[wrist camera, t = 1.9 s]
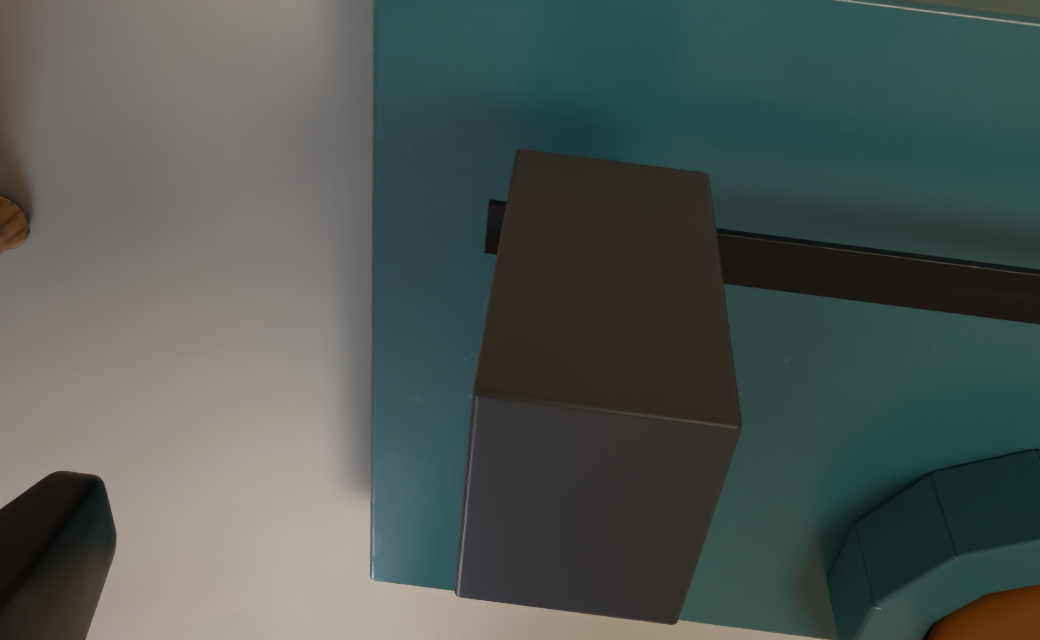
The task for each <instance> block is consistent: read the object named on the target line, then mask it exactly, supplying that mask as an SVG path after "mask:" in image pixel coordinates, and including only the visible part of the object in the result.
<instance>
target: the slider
mask: <svg viewBox="0 0 1040 640" xmlns="http://www.w3.org/2000/svg"><path fill="white" fill-rule="evenodd" d="M742 427H743V425H742V418H741V410H740V403H739V396H738V388H737V381H736V373H735V366H734V358H733V351H732V343H731V336H730V328H729V321H728V314H727V306H726V299H725V291H724V284H723V276H722V269H721V261H720V254H719V246H718V239H717V231H716V224H715V217H714V209H713V202H712V194H711V187H710V179H709V175H708V174H707V173H705V172H699V171H691V170H683V169H675V168H668V167H660V166H652V165H644V164H636V163H629V162H621V161H613V160H605V159H597V158H589V157H582V156H574V155H566V154H558V153H550V152H542V151H535V150H527V149H518V150H517V152H516V153H515V158H514V164H513V169H512V175H511V180H510V186H509V191H508V197H507V202H506V208H505V213H504V219H503V224H502V230H501V235H500V241H499V247H498V252H497V258H496V263H495V269H494V274H493V280H492V285H491V291H490V296H489V302H488V307H487V313H486V318H485V324H484V329H483V335H482V340H481V346H480V351H479V357H478V363H477V368H476V374H475V379H474V385H473V390H472V400H471V411H470V422H469V433H468V444H467V455H466V466H465V477H464V488H463V499H462V509H461V520H460V531H459V542H458V553H457V564H456V575H455V586H454V590H455V594H456V596H458V597H462V598H470V599H477V600H485V601H493V602H500V603H508V604H516V605H523V606H531V607H539V608H546V609H554V610H562V611H569V612H577V613H585V614H592V615H600V616H608V617H615V618H623V619H631V620H638V621H646V622H654V623H661V624H669V625H673V624H676V623H677V622H678V620H679V617H680V614H681V611H682V608H683V605H684V602H685V599H686V596H687V593H688V590H689V587H690V584H691V581H692V578H693V575H694V572H695V569H696V566H697V563H698V560H699V557H700V554H701V551H702V548H703V545H704V541H705V538H706V535H707V532H708V529H709V526H710V523H711V520H712V517H713V514H714V511H715V508H716V505H717V502H718V499H719V496H720V493H721V490H722V487H723V484H724V481H725V478H726V475H727V472H728V469H729V466H730V463H731V460H732V457H733V454H734V451H735V448H736V445H737V442H738V439H739V436H740V433H741V430H742Z"/></svg>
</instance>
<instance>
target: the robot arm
mask: <svg viewBox="0 0 1040 640" xmlns="http://www.w3.org/2000/svg"><path fill="white" fill-rule="evenodd" d="M115 548H116V529H115V525H114V520H113V516H112V512H111V508H110V504H109V499H108V495H107V491H106V487H105V484H104V482H103V481H102V479H101V478H100V477H99V476H96V475H92V474H85V473H77V472H69V471H57V472H54V473H52V474H49V475H48V476H46V477H45V478H43V479H42V480H40V481H39V482H38V483H36V484H35V485H33V486H32V487H31V488H29V489H28V490H27V491H25V492H24V493H22V494H21V495H20V496H18V497H17V498H16V499H14V500H13V501H11V502H10V503H9V504H7V505H6V506H4V507H3V508H2V509H0V640H85V639H86V636H87V633H88V631H89V628H90V625H91V622H92V619H93V616H94V613H95V610H96V607H97V604H98V601H99V598H100V595H101V592H102V589H103V586H104V584H105V581H106V578H107V575H108V572H109V569H110V566H111V563H112V560H113V557H114V553H115Z"/></svg>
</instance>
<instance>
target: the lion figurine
mask: <svg viewBox="0 0 1040 640" xmlns="http://www.w3.org/2000/svg"><path fill="white" fill-rule="evenodd" d="M29 233H30V230H29V226H28V221H27V218H26V216H25V214H24V213H23V211H22V210H21V209H20V207H19V206H18V205H17V204H16V203H14V202H12V201H11V200H9V199H7V198H4V197H2V196H0V253H1V252H3V251H6V250H9V249H13V248H16V247H19V246H20V245H22V244H23V243H24V242H25V240H26V239H27V237H28V235H29Z"/></svg>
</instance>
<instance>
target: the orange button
mask: <svg viewBox="0 0 1040 640" xmlns="http://www.w3.org/2000/svg"><path fill="white" fill-rule="evenodd" d="M927 640H1040V584H1039V585H1034V586H1028V587H1023V588H1017V589H1012V590H1006V591H1001V592H995V593H990V594H985V595H983V596H982V597H980V598H978V599H976V600H974V601H973V602H971V603H969V604H967V605H965V606H964V607H962V608H960V609H958V610H956V611H955V612H953V613H951V614H949V615H947V616H946V617H944V618H942V619H940V620H938V621H937V622H936V623H935V625H934V626H933V628H932V629H931V631H930V633H929V635H928V637H927Z"/></svg>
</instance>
